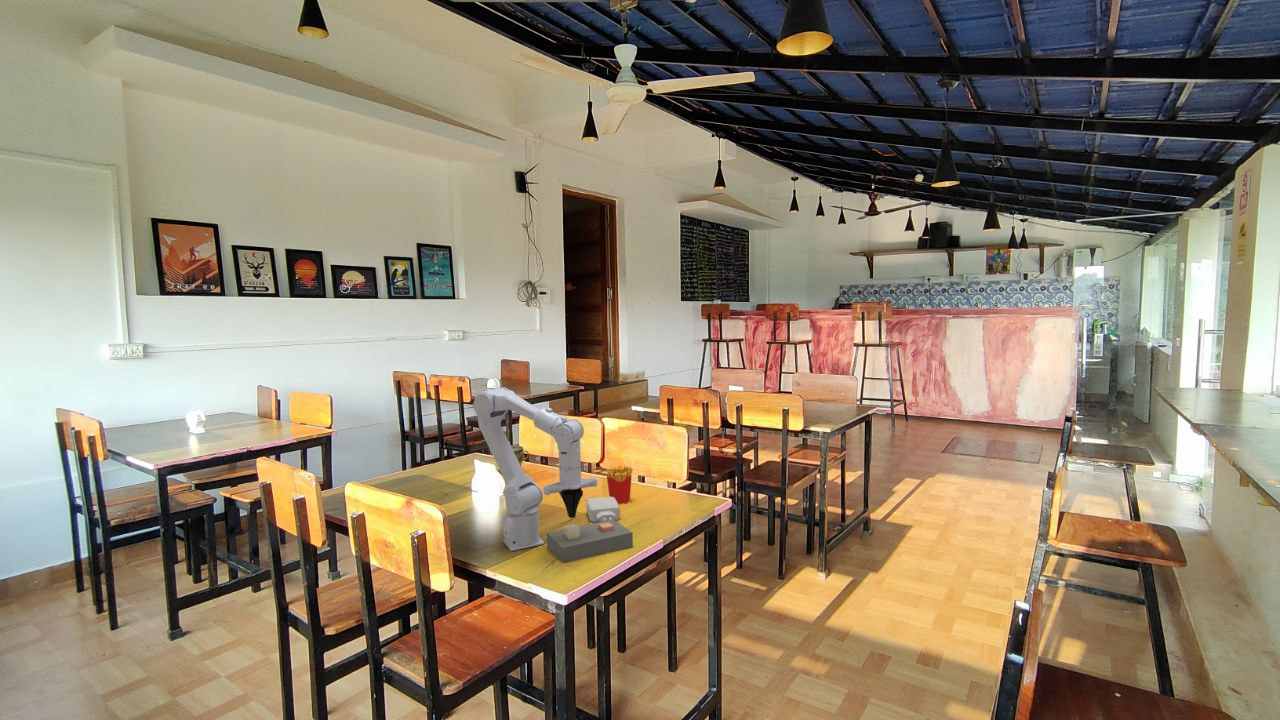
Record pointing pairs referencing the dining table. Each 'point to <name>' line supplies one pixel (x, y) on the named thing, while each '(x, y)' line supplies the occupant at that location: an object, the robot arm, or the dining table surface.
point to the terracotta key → (606, 527)
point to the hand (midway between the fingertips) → (571, 516)
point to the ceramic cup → (519, 453)
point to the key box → (589, 541)
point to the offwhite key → (571, 532)
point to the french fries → (619, 483)
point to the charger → (603, 509)
